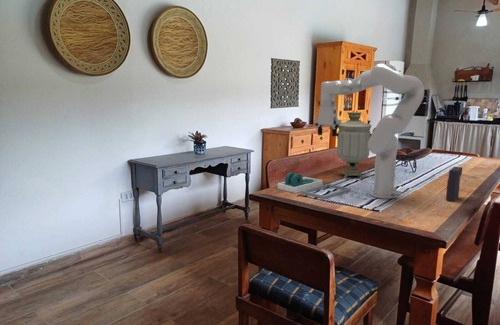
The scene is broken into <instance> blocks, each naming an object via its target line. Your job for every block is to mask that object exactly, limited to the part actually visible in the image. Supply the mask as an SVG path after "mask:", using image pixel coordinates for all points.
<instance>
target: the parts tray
mask: <svg viewBox="0 0 500 325" xmlns="http://www.w3.org/2000/svg"><path fill="white" fill-rule="evenodd" d="M302 177H303V179H312V180H314V182H312V183H308V184H305V185H301V186H297V187H293V186H288V185H285V181H283V182H278V183H277V189H278V190H281V191H283V192H284V191H285V192H289V193H294V194H297V193H299V192H301V193H302V191H303V190H307V189H311V188H314V187H318V186H322V185H324V184H323V182H324V181H323V179H319V178H318V179H317V178H312V177H307V176H302Z"/></svg>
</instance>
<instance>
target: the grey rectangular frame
mask: <svg viewBox="0 0 500 325" xmlns="http://www.w3.org/2000/svg"><path fill="white" fill-rule="evenodd" d="M326 188H332V189H337V190H339V191H335V192H331V193H328V194H325V195H322V194H318V193H314V191H318V190H322V189H326ZM351 190H352V188H350V187H345V186H341V185H336V184H331V183H326V184H323V185H322V186H318V187H314V188H311V189H307V190H303V191H301V194H302V195H305V196H310V197H313V198H318V199H323V200H326V199H329V198H333V197H336V196H339V195H343V194H345V193H349V192H351Z"/></svg>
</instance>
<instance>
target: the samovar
mask: <svg viewBox="0 0 500 325" xmlns="http://www.w3.org/2000/svg"><path fill="white" fill-rule="evenodd" d="M346 113H347V115H348V120H347V121H344V122H343V121H342V119H339V120H340V121H341V124H340V126H339V127H338V130H337V136H336V140H337V145H336V153H337V156H338V158H340V159H341V160H342V161H344V162H346V166H347V168H345V169H344V170H343V172H342V173H341V174H340V175H343V179H347V178H348V176H349V177H350V176H354V177H355V176H357V177H359V178H360V179H363V178H364V177H363V176H362V175H361V174H362V173H361V171H360V170H359V169H358V168H357V167H358V166H359V163H362V162H363V161H365V160H366V159H367V158H369V156H370V150H369V148H368V141H369V139H370V137H371V135H372V133H373V131H374V130H375V128H376V126H375V127H374V128H373V129H372V130H371V128H372V124H371V122H372V121H371V120H370V119H369V120H367V122H366V123H365V122H364V121H362V120H361V115H362V113H363V112H362V111H347V112H346ZM332 129H333V127H332V126H331V125H329V130H332ZM371 131H372V132H371Z"/></svg>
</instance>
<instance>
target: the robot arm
mask: <svg viewBox="0 0 500 325" xmlns="http://www.w3.org/2000/svg"><path fill="white" fill-rule="evenodd" d="M377 86H382V87H383V88H385V89H387V90H389V91H391V92H392V93H393V94H398V95H403V97H402V98H401V100H400V101H399V102H398V103H397V106H396V107H395V108H394V111H393V112H392V113H390V114H386V115H384V116H383V117H381V119H380V120H379V121H378V123H377V124H376V126H375V127H376V128H375V127H374V128H375V130H374V131H373V130H372V131H373V133H372V132H371V134H372V135H371V137H370V139H369V141H368V148H369V152H370V153H372V154H374V155H375V160H374V177H373V178H374V179H373V190H372V191H370V196H371V197H373V198H377V199H384V200H385V199H386V200H388V199H395V198H397V197H398V196H399V197H401V196H402V191H400V190H397V187H395V177H396V163H397V153H398V148H399V140H398V138H397V136H396V135H398V134H401V133H403V132H405V130H406V129H407V127H408V126H409V124H410V122H411V121H412V119H413V117H414V115H415V114H416V111H418V108H419V107H420V105H421V104H422V102H423V100H424V96H425V87H424V84H423V83H422V81H421V79H419V78H418V77H417V76H415V75H412V74H411V75H408V74H402V73H401V72H398V71H397V68H396V67H395V66H394V65H392V64H389V63H383V62H382V63H377V64H375V65H374V66H373V67H372V68H371V69H368V70H364V71H362V72H361V73H360V74H359V76H358V77H356V78H352V79H349V80H333V81H329V80H328V81H323V82H321V85H320V106H319V111H318V117H317V118H316V119H314V123H315V124H314V125H315V126H316V128H317V135H318V136H322V135H323V126H332V127H333V129H332V131H331V136H332V137H337V133H338V130H339V128H338V127H339V126H340V124H341V123H342V121H340V120H341V119H339V118H338V110H337V107H336V106H337V102H336V96H348V95H352V94H355V93H358V92H362V91H364V90H366V89H370V88H373V87H377Z"/></svg>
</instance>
